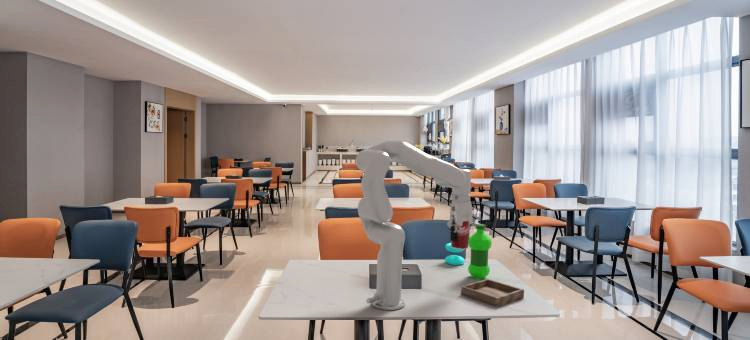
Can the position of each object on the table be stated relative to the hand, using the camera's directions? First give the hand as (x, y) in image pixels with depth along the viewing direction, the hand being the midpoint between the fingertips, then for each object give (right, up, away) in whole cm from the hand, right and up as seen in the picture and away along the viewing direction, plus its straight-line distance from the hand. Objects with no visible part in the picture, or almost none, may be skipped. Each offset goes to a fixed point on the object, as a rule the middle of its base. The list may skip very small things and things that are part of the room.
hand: (459, 239), depth 193 cm
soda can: (0, -4, 0) cm, 4 cm away
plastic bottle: (+13, -21, +21) cm, 33 cm away
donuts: (+6, -20, +47) cm, 51 cm away
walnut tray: (+12, -23, -5) cm, 26 cm away
